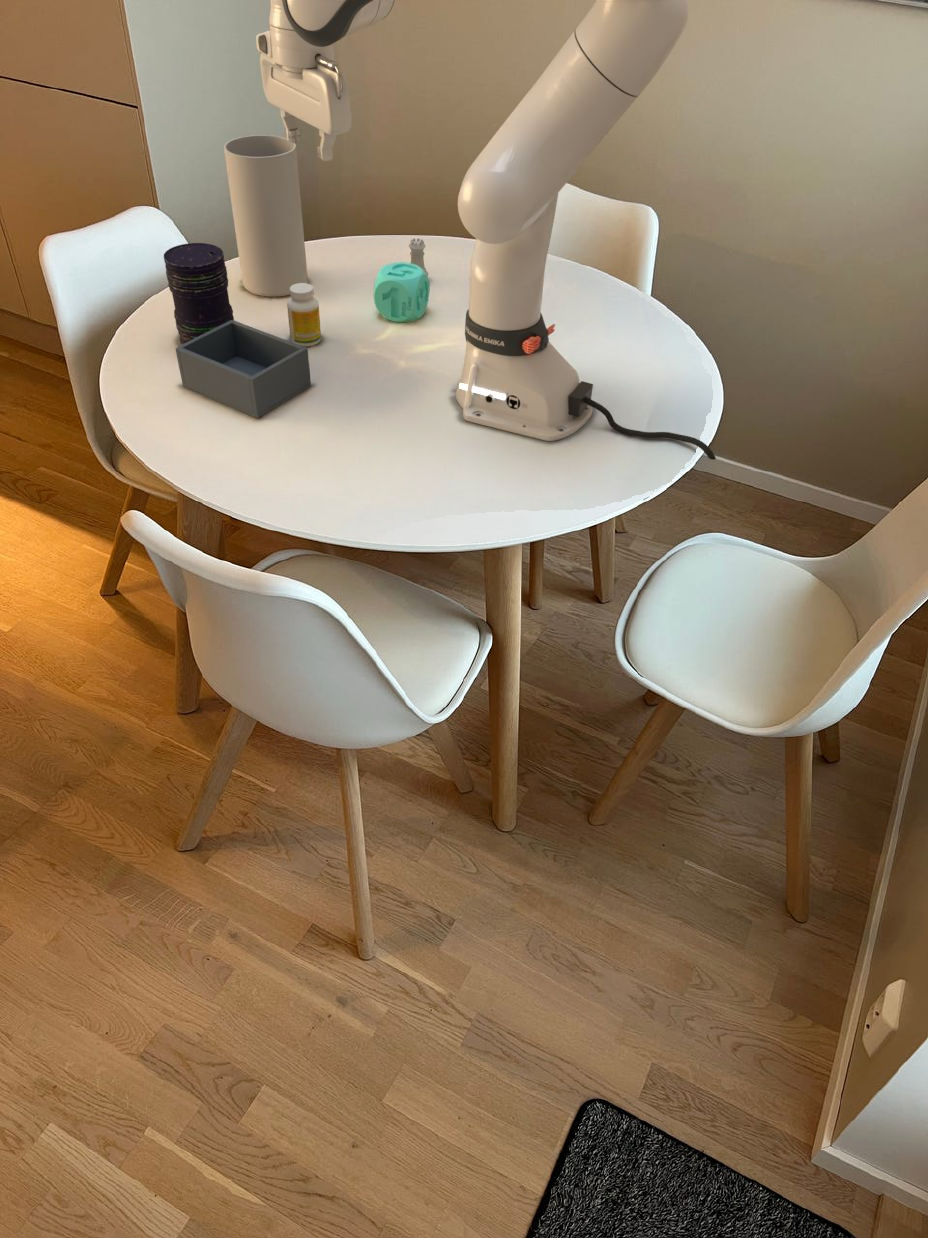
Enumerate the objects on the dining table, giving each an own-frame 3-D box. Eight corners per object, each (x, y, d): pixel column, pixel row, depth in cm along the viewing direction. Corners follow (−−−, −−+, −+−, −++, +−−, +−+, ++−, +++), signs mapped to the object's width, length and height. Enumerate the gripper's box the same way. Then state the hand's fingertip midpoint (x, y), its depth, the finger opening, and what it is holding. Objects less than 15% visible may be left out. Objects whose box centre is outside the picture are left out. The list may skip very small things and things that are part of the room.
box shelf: (311, 386, 152) (307, 347, 148) (258, 418, 145) (252, 379, 140) (237, 356, 159) (231, 319, 154) (182, 386, 151) (174, 347, 146)
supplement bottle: (285, 338, 164) (279, 285, 157) (311, 330, 167) (306, 278, 160) (301, 350, 161) (296, 296, 154) (327, 341, 164) (323, 289, 157)
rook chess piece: (402, 278, 184) (401, 237, 178) (423, 275, 185) (423, 234, 180) (411, 287, 181) (410, 246, 175) (432, 284, 182) (432, 243, 177)
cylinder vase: (230, 281, 180) (210, 143, 163) (284, 265, 187) (270, 130, 169) (266, 303, 174) (248, 162, 157) (320, 286, 180) (309, 148, 163)
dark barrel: (180, 354, 159) (163, 268, 148) (177, 328, 166) (161, 244, 155) (239, 348, 161) (226, 263, 151) (234, 323, 168) (221, 240, 157)
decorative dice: (374, 318, 171) (372, 275, 165) (390, 300, 176) (389, 258, 171) (414, 325, 169) (414, 282, 164) (429, 307, 175) (430, 265, 169)
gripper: (360, 61, 129) (363, 166, 138) (287, 29, 140) (295, 129, 150) (320, 66, 126) (326, 173, 135) (249, 34, 137) (260, 135, 147)
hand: (309, 150), depth 143 cm, fingers open, 8 cm apart
